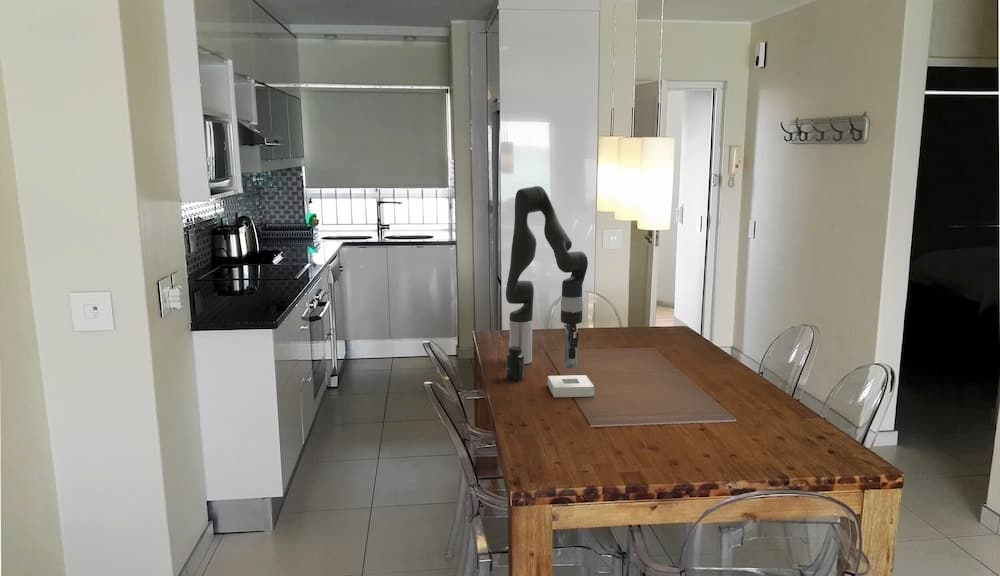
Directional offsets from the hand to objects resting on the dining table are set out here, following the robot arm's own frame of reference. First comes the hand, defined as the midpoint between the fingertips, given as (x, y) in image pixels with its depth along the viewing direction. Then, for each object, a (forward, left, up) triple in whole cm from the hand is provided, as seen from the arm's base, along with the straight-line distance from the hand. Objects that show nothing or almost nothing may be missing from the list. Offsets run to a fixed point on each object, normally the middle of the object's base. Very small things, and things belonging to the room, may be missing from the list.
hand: (570, 356), depth 256 cm
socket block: (0, 0, -12) cm, 12 cm away
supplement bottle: (-16, -18, -13) cm, 27 cm away
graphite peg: (0, 0, -4) cm, 4 cm away
